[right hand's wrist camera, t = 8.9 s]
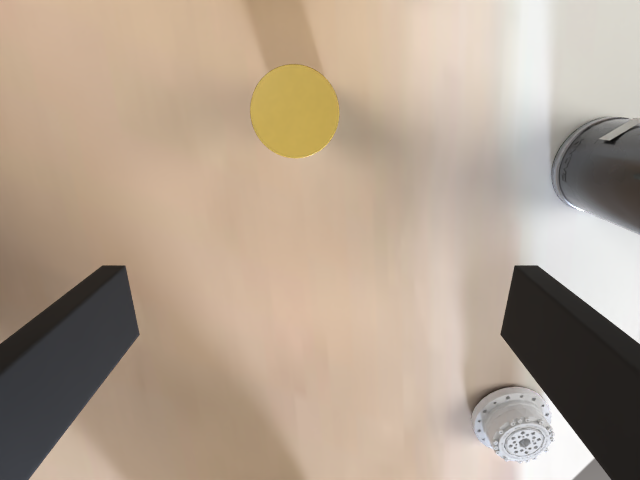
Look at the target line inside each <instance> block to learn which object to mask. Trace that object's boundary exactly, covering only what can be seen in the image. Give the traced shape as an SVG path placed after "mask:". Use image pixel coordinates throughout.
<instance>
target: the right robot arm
mask: <svg viewBox="0 0 640 480" xmlns="http://www.w3.org/2000/svg"><path fill="white" fill-rule="evenodd" d="M138 336H139V330H138V325H137V320H136V315H135V310H134V305H133V301H132V296H131V291H130V286H129V281H128V276H127V272H126V267H125V266H101V267H100V268H99V269H97V270H96V271H95V272H94V273H92V274H91V275H90V276H88V277H87V278H86V279H84V280H83V281H82V282H81V283H79V284H78V285H77V286H75V287H74V288H73V289H71V290H70V291H69V292H67V293H66V294H65V295H64V296H62V297H61V298H60V299H58V300H57V301H56V302H54V303H53V304H52V305H51V306H49V307H48V308H47V309H45V310H44V311H43V312H41V313H40V314H39V315H38V316H36V317H35V318H34V319H32V320H31V321H30V322H28V323H27V324H26V325H25V326H23V327H22V328H21V329H19V330H18V331H17V332H15V333H14V334H13V335H12V336H10V337H9V338H8V339H6V340H5V341H4V342H2V343H1V344H0V480H29V478H30V477H31V476H32V474H33V473H34V472H35V471H36V469H37V468H38V467H39V465H40V464H41V463H42V461H43V460H44V459H45V457H46V456H47V455H48V454H49V452H50V451H51V450H52V448H53V447H54V446H55V444H56V443H57V442H58V440H59V439H60V438H61V437H62V435H63V434H64V433H65V431H66V430H67V429H68V427H69V426H70V425H71V423H72V422H73V421H74V420H75V418H76V417H77V416H78V414H79V413H80V412H81V410H82V409H83V408H84V406H85V405H86V404H87V403H88V401H89V400H90V399H91V397H92V396H93V395H94V393H95V392H96V391H97V389H98V388H99V387H100V386H101V384H102V383H103V382H104V380H105V379H106V378H107V376H108V375H109V374H110V372H111V371H112V370H113V369H114V367H115V366H116V365H117V363H118V362H119V361H120V359H121V358H122V357H123V355H124V354H125V353H126V352H127V350H128V349H129V348H130V346H131V345H132V344H133V342H134V341H135V340H136V338H137V337H138ZM501 336H502V337H503V338H504V340H505V341H506V342H507V344H508V345H509V346H510V348H511V349H512V350H513V352H514V353H515V354H516V355H517V357H518V358H519V359H520V361H521V362H522V363H523V365H524V366H525V367H526V369H527V370H528V371H529V372H530V374H531V375H532V376H533V378H534V379H535V380H536V382H537V383H538V384H539V386H540V387H541V388H542V389H543V391H544V392H545V393H546V395H547V396H548V397H549V399H550V400H551V401H552V403H553V404H554V405H555V406H556V408H557V409H558V410H559V412H560V413H561V414H562V416H563V417H564V418H565V420H566V421H567V422H568V423H569V425H570V426H571V427H572V429H573V430H574V431H575V433H576V434H577V435H578V437H579V438H580V439H581V440H582V442H583V443H584V444H585V446H586V447H587V448H588V450H589V451H590V452H591V454H592V455H593V456H594V457H595V459H596V460H597V461H598V463H599V464H600V465H601V466H602V468H603V469H604V470H605V472H606V473H607V474H608V476H609V477H610V478H611V480H640V344H639V343H638V342H636V341H635V340H634V339H632V338H631V337H630V336H628V335H627V334H626V333H625V332H623V331H622V330H621V329H619V328H618V327H617V326H615V325H614V324H613V323H612V322H610V321H609V320H608V319H606V318H605V317H604V316H602V315H601V314H600V313H599V312H597V311H596V310H595V309H593V308H592V307H591V306H589V305H588V304H587V303H586V302H584V301H583V300H582V299H580V298H579V297H578V296H576V295H575V294H574V293H573V292H571V291H570V290H569V289H567V288H566V287H565V286H563V285H562V284H561V283H559V282H558V281H557V280H556V279H554V278H553V277H552V276H550V275H549V274H548V273H546V272H545V271H544V270H543V269H541V268H540V267H539V266H515V267H514V272H513V276H512V281H511V286H510V291H509V296H508V301H507V305H506V310H505V315H504V320H503V325H502V330H501Z"/></svg>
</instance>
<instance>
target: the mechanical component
mask: <svg viewBox="0 0 640 480" xmlns="http://www.w3.org/2000/svg"><path fill="white" fill-rule="evenodd" d="M471 423H472V428H473V430H474V432H475V434H476V436H477V438H478V439H479V441H480V442H482V443H483V444H484V445H485V446H487V447H489V448H492V449H494V451H495V453H496V454H497V455H499V456H500V457H501V458H504V460H505V461H509V460H510V461H517V462H518V463H522V461H524V460H525V462H529V461H530V460H529V459H533V460H536V458H537V457H536V456H538V455H539V454H541V453H542V452H548V449H547V448H548V447H549V445H550V444H551V442H553V441H554V438H553V436H554V433H553V429H552V427H551V426H550V423H551V411H550V408H549V406H548V404H547V403H546V402H545V400H544V399H543V398H542V397H541V396H540V395H539V394H538V393H537V392H535V391H533V390H530V389H528V388H522V387H509V388H503V389H500V390H497V391H495V392H492V393H490V394H489V395H487V396H486V397H485V398H483V399H482V400H481V401H480V402H479V403H478V404H477V406H476V407H475V409H474V411H473V413H472V418H471Z"/></svg>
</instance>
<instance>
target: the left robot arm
mask: <svg viewBox="0 0 640 480" xmlns="http://www.w3.org/2000/svg"><path fill="white" fill-rule="evenodd" d="M552 183H553V187H554V190H555V192H556V194H557V195H558V197H559V198H560V199H561V200H562V201H563V202H564V203H566V204H567V205H569V206H571V207H573V208H576V209H578V210H581V211H585V212H588V213H590V214H593V215H595V216H597V217H599V218H602V219H604V220H606V221H609V222H611V223H613V224H616V225H618V226H620V227H623V228H625V229H628V230H630V231H632V232H635V233H637V234H639V235H640V119H636V118H633V119H628V118H620V117H605V118H600V119H596V120H593V121H591V122H589V123H586V124H585V125H583V126H581V127H580V128H578V129H577V130H576V131H574V132H573V133H572V134H571V135H570V136H569V137H568V138H567V139H566V140H565V142H564V143H563V144H562V146H561V147H560V149H559V151H558V153H557V155H556V157H555V160H554V163H553V167H552Z"/></svg>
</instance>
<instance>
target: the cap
mask: <svg viewBox="0 0 640 480" xmlns="http://www.w3.org/2000/svg"><path fill="white" fill-rule="evenodd" d="M250 115H251V121H252V125H253V128H254V130H255V132H256V134H257V136H258V138H259V139H260V140H261V142H262V143H263V144H264V145H265V146H266V147H267V148H268V149H270V150H271V151H273V152H274V153H276V154H278V155H281V156H284V157H288V158H304V157H308V156H311V155H313V154H315V153H317V152H319V151H320V150H321V149H323V148H324V147H325V146H326V145H327V144H328V143H329V141H330V140H331V139H332V137H333V135H334V133H335V131H336V128H337V125H338V121H339V104H338V100H337V96H336V94H335V91H334V89H333V87H332V86H331V84H330V83H329V82H328V80H327V79H326V78H325V77H324V76H323V75H322V74H320V73H319V72H318V71H316V70H314V69H312V68H310V67H307V66H304V65H298V64H289V65H283V66H280V67H277V68H275V69H273V70H272V71H270V72H269V73H267V74H266V75H265V76H264V77H263V78H262V79H261V80H260V82H259V83H258V85H257V86H256V88H255V90H254V93H253V95H252V99H251V105H250Z"/></svg>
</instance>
